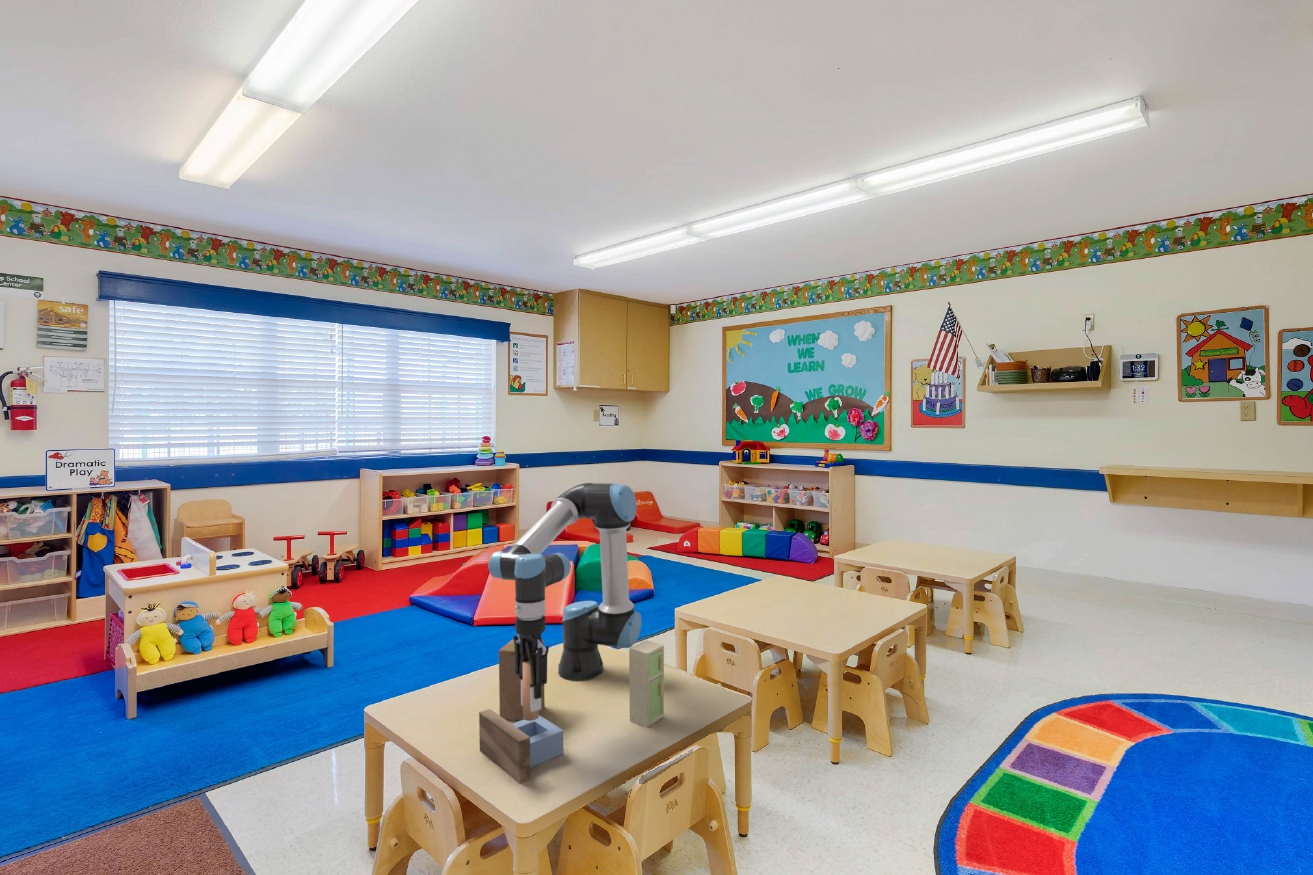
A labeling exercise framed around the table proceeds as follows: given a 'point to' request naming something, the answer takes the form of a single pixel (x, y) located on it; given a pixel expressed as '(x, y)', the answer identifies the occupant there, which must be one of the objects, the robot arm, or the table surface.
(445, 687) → the table surface
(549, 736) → the socket block
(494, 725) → the wall
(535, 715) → the dowel
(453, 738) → the table surface
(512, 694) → the wooden block
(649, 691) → the toy refrigerator
